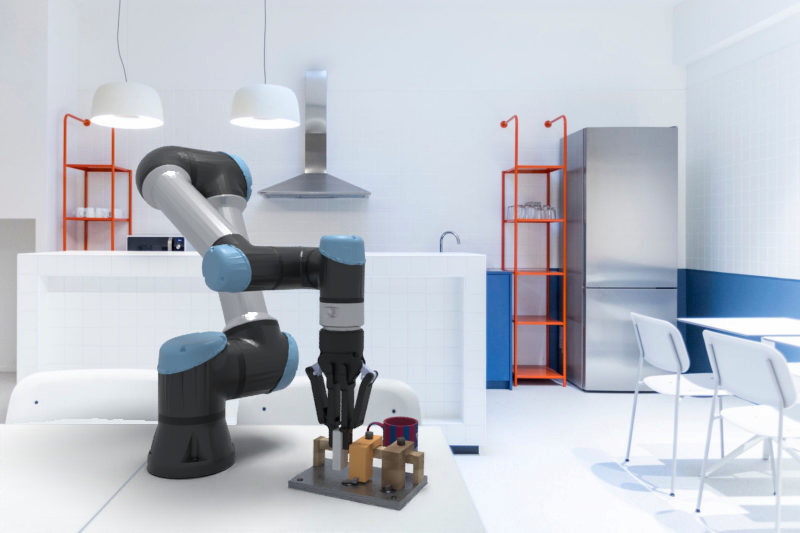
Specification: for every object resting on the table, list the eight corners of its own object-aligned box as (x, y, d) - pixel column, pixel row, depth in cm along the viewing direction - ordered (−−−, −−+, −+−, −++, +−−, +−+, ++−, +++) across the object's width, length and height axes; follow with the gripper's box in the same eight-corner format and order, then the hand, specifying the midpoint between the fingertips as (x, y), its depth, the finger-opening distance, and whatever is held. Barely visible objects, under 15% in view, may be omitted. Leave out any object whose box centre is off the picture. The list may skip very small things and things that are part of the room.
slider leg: (345, 481, 99) (346, 440, 99) (367, 466, 106) (367, 427, 106) (362, 484, 98) (362, 443, 97) (382, 468, 105) (383, 429, 105)
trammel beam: (298, 474, 102) (298, 434, 102) (321, 460, 110) (321, 422, 109) (407, 495, 95) (408, 451, 94) (424, 478, 102) (425, 437, 101)
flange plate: (288, 487, 100) (288, 480, 100) (324, 464, 111) (325, 457, 111) (399, 510, 92) (399, 501, 92) (427, 482, 103) (427, 475, 103)
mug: (412, 464, 112) (413, 427, 112) (361, 458, 115) (362, 422, 114) (421, 452, 118) (421, 418, 118) (372, 447, 121) (373, 413, 121)
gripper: (296, 327, 100) (294, 468, 101) (366, 332, 95) (365, 481, 96) (319, 322, 107) (318, 455, 108) (386, 327, 102) (384, 466, 102)
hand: (340, 467), depth 102 cm, fingers closed
